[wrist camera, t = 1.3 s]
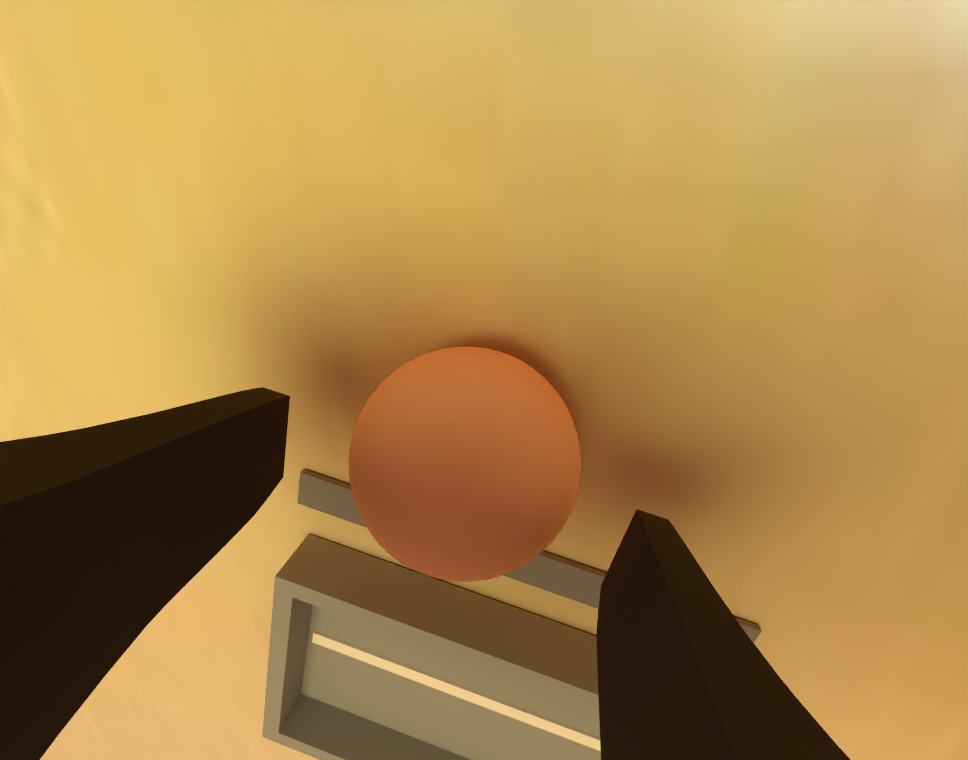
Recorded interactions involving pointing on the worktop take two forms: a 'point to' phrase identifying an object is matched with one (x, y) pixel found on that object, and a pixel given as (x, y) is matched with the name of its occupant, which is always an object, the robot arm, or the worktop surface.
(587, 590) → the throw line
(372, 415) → the ball
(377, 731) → the tray
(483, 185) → the worktop surface
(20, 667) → the robot arm
